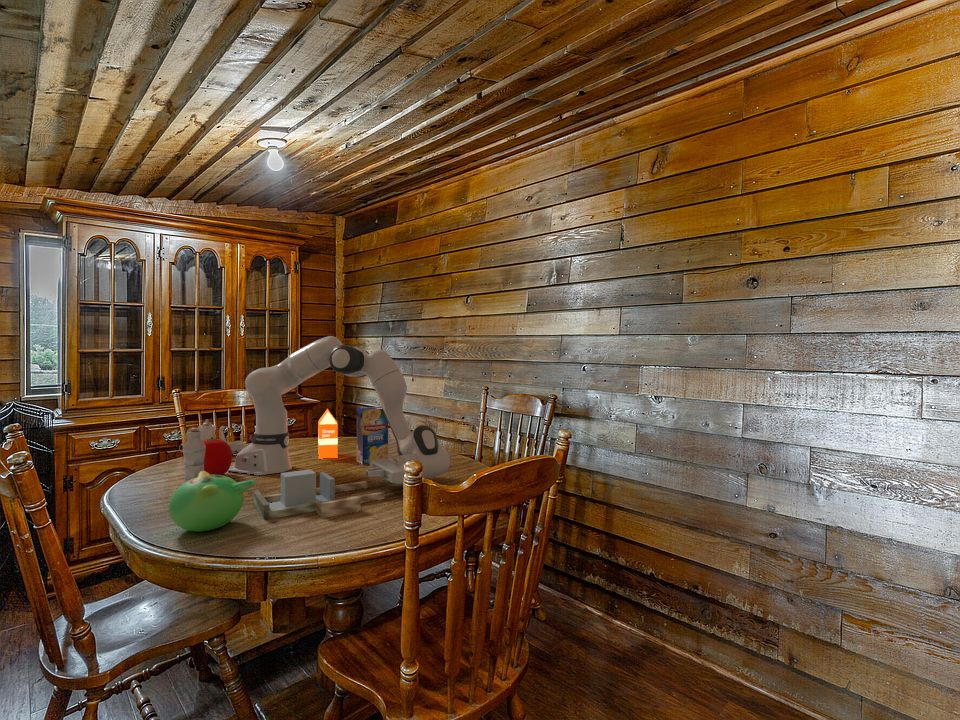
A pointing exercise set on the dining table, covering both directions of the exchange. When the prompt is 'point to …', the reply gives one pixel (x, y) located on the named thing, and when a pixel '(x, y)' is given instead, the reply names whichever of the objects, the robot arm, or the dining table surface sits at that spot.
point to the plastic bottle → (193, 455)
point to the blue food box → (371, 434)
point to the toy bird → (207, 501)
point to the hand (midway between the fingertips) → (367, 473)
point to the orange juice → (327, 436)
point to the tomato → (217, 456)
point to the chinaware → (208, 432)
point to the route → (321, 508)
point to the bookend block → (304, 489)
